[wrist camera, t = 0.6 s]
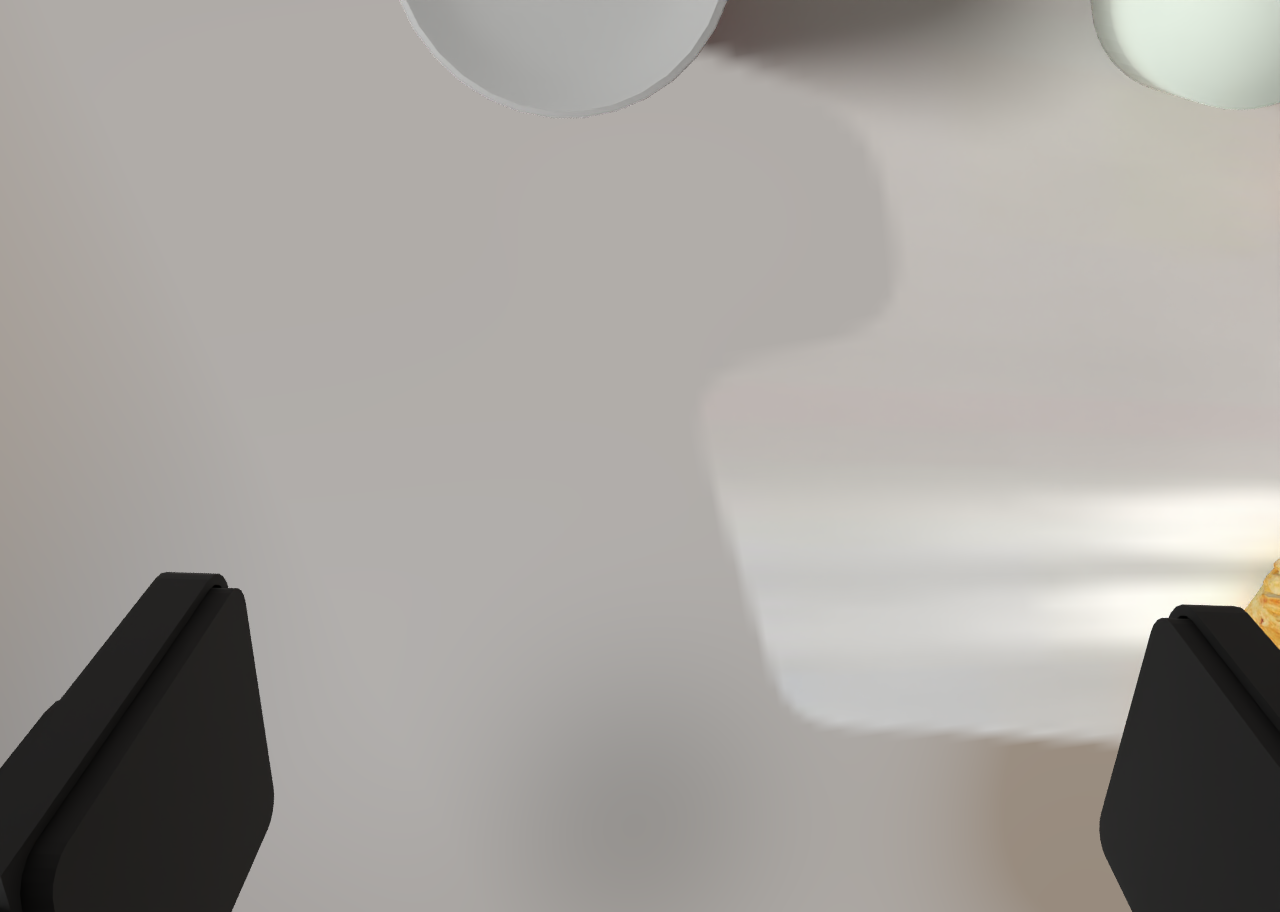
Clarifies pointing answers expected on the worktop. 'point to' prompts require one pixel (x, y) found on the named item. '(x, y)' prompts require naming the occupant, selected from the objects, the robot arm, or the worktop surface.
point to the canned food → (564, 48)
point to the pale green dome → (1196, 48)
